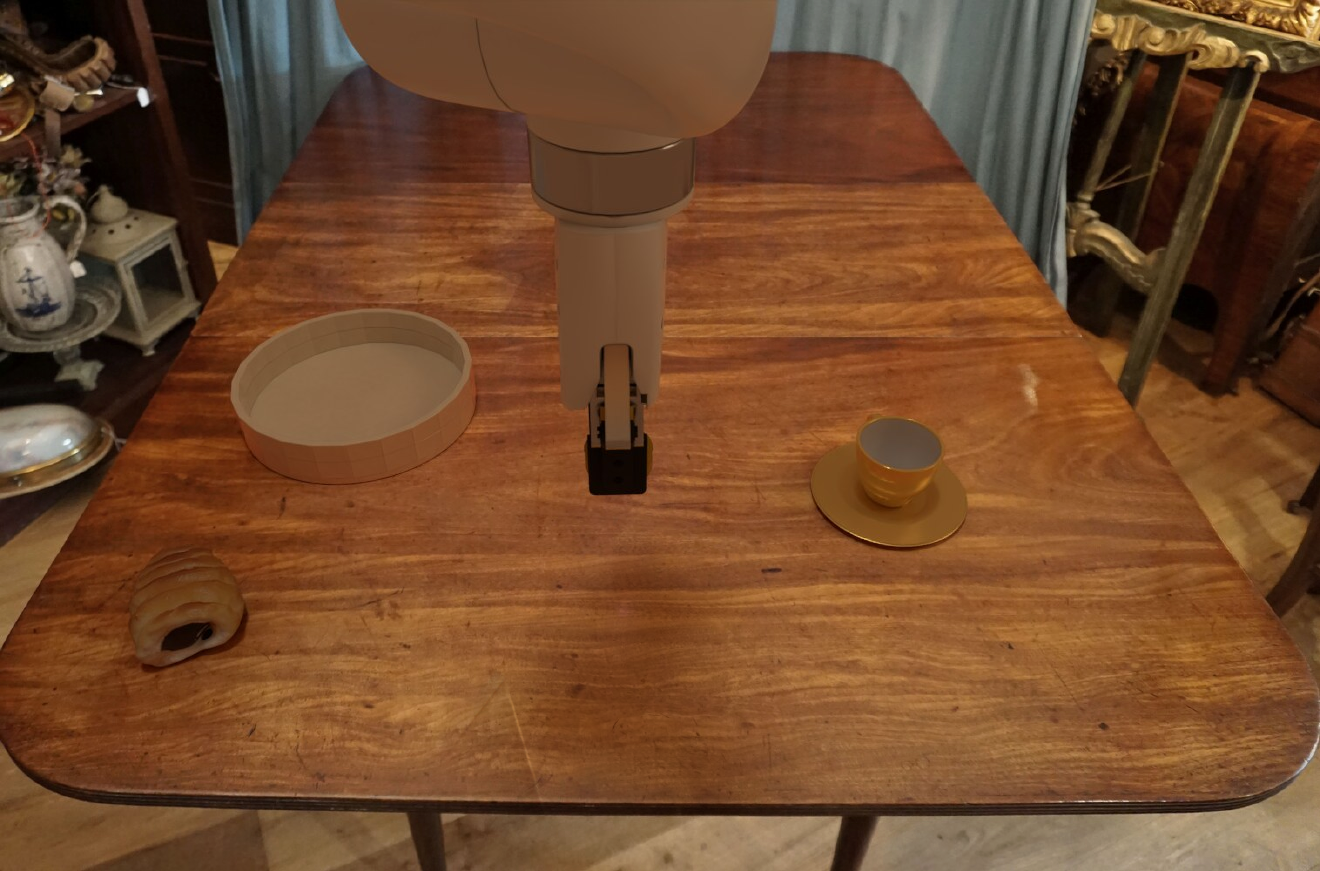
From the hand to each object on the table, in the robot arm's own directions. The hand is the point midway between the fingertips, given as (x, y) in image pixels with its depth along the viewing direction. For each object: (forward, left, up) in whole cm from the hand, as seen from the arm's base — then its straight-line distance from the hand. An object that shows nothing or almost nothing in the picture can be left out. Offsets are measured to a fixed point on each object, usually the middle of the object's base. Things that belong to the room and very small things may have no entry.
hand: (617, 460), depth 54 cm
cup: (+21, -12, -14) cm, 28 cm away
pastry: (-13, +26, -14) cm, 32 cm away
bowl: (+10, +31, -14) cm, 35 cm away
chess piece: (0, 0, 0) cm, 1 cm away
